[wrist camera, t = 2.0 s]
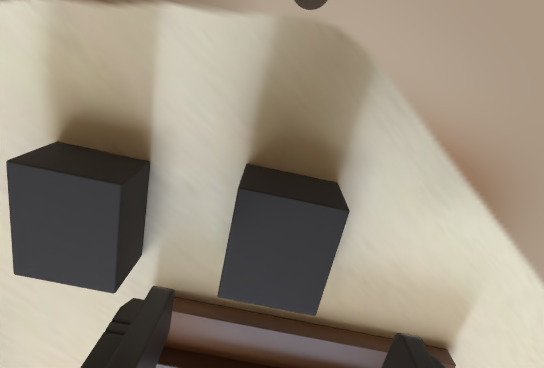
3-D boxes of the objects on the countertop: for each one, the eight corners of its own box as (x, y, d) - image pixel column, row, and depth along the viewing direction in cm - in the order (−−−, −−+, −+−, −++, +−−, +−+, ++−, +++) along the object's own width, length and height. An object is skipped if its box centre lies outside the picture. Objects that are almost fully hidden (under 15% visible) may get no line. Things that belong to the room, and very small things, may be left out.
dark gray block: (55, 141, 18) (5, 160, 15) (150, 161, 18) (121, 184, 15) (57, 239, 20) (12, 275, 17) (142, 256, 20) (115, 294, 17)
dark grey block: (246, 163, 18) (238, 187, 15) (338, 182, 18) (350, 210, 15) (227, 258, 20) (217, 297, 17) (310, 274, 20) (315, 316, 17)
